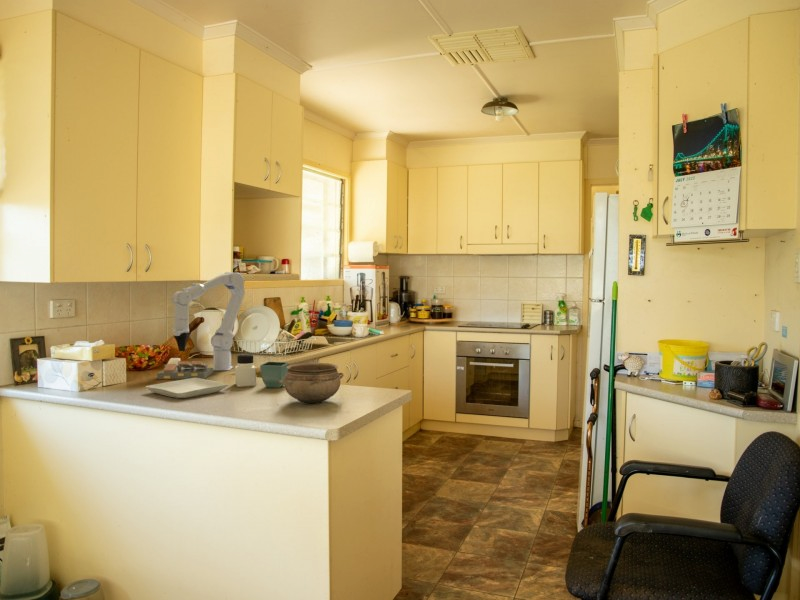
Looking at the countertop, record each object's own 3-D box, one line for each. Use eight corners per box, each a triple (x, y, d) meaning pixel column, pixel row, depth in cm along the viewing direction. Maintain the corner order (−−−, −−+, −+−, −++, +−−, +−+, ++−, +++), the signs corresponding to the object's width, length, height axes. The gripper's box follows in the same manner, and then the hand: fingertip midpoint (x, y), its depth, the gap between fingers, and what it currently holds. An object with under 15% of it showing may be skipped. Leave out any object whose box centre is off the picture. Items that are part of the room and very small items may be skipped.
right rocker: (197, 368, 268) (197, 365, 268) (206, 367, 268) (207, 365, 268) (191, 364, 258) (191, 361, 259) (200, 364, 259) (201, 361, 259)
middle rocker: (184, 368, 268) (184, 365, 268) (193, 368, 268) (194, 365, 268) (177, 364, 258) (177, 361, 258) (187, 364, 258) (187, 361, 259)
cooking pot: (327, 393, 227) (327, 360, 227) (358, 402, 213) (358, 366, 212) (265, 402, 211) (265, 366, 210) (295, 412, 197) (295, 374, 196)
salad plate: (178, 402, 213) (178, 392, 213) (144, 394, 226) (144, 385, 226) (229, 392, 230) (229, 383, 230) (195, 386, 243) (195, 377, 242)
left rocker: (171, 360, 267) (170, 358, 267) (180, 360, 267) (180, 358, 267) (164, 372, 258) (163, 369, 257) (173, 372, 258) (173, 369, 258)
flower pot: (282, 389, 235) (281, 365, 235) (259, 388, 236) (259, 364, 236) (289, 385, 244) (289, 362, 243) (268, 384, 245) (268, 361, 245)
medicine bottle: (256, 385, 241) (256, 355, 241) (237, 387, 239) (237, 355, 238) (253, 382, 248) (253, 352, 248) (235, 383, 245) (234, 353, 245)
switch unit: (168, 373, 270) (168, 362, 269) (212, 373, 271) (212, 362, 270) (157, 378, 255) (157, 367, 255) (204, 378, 256) (204, 367, 256)
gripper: (177, 318, 274) (177, 348, 274) (166, 320, 259) (167, 353, 260) (193, 318, 274) (194, 348, 275) (183, 320, 260) (184, 353, 260)
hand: (182, 351), depth 267 cm, fingers closed
